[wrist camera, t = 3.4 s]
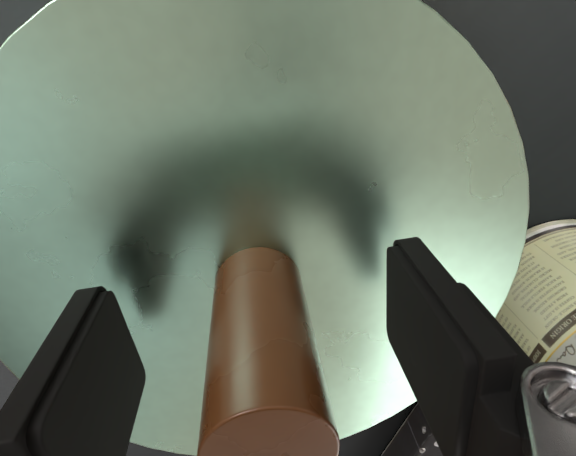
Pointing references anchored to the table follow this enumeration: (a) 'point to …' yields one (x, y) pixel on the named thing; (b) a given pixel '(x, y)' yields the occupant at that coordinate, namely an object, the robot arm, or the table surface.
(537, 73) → the table surface
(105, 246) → the lid
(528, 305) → the coffee can
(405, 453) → the disk drive
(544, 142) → the table surface
